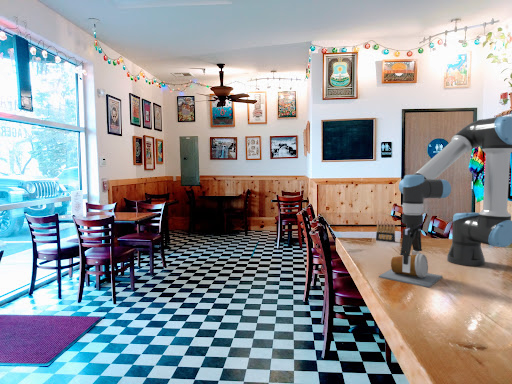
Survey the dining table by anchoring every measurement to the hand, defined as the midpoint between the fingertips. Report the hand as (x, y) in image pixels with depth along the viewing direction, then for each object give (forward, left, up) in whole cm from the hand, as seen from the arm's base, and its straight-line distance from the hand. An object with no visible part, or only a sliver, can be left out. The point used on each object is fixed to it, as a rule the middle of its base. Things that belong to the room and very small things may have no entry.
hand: (410, 269), depth 148 cm
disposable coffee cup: (0, -7, +1) cm, 7 cm away
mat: (0, 0, -3) cm, 3 cm away
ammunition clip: (-64, -36, -3) cm, 74 cm away
